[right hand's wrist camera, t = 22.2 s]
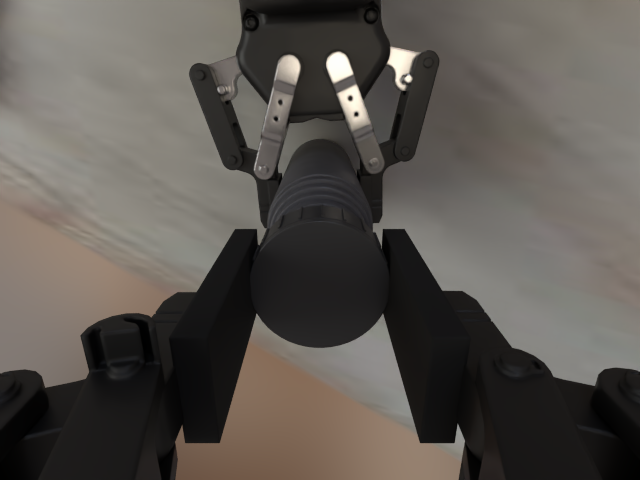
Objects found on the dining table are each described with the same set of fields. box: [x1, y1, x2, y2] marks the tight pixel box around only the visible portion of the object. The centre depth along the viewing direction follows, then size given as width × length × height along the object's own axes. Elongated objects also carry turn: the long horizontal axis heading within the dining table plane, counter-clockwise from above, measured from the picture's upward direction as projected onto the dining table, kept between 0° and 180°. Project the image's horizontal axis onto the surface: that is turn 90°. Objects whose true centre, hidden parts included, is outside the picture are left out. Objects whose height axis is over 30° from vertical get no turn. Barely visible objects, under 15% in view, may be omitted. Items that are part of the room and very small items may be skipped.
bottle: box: [267, 139, 373, 232], centre depth 22 cm, size 5×5×19 cm
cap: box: [250, 204, 390, 348], centre depth 13 cm, size 5×5×2 cm
